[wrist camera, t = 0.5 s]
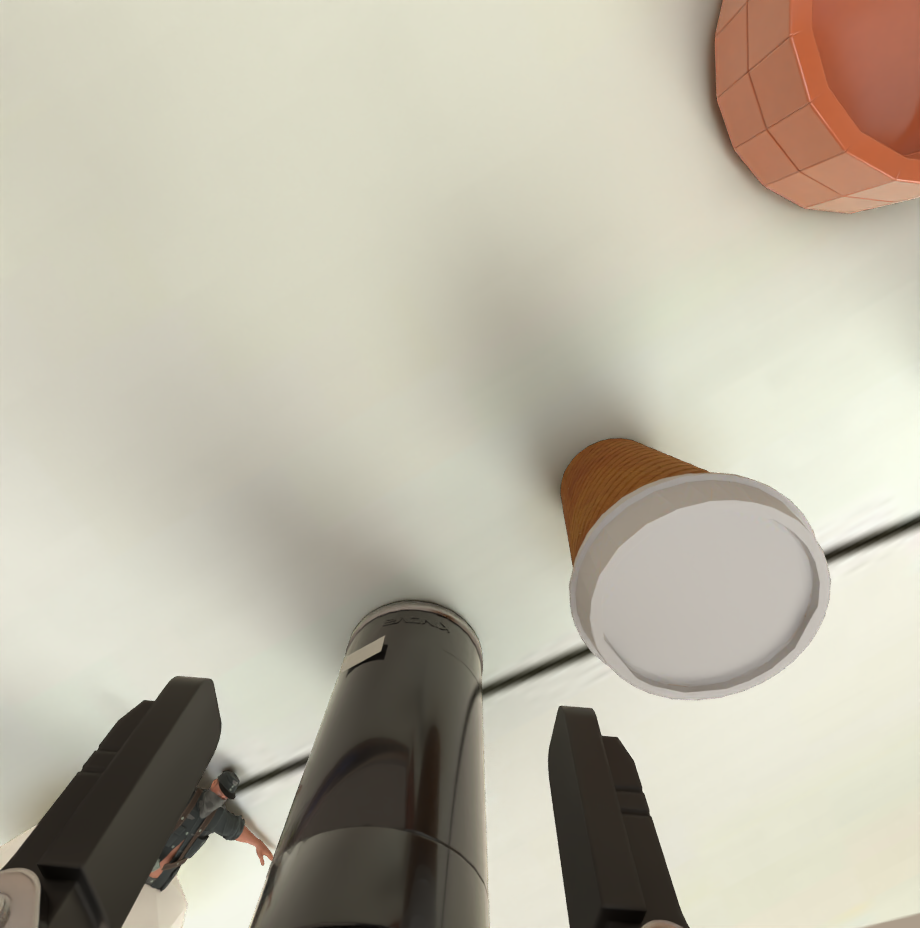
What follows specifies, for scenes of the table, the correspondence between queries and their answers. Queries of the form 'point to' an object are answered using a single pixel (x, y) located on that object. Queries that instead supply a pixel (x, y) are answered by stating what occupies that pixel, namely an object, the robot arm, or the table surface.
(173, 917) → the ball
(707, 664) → the disposable coffee cup
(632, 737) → the table surface
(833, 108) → the bowl
